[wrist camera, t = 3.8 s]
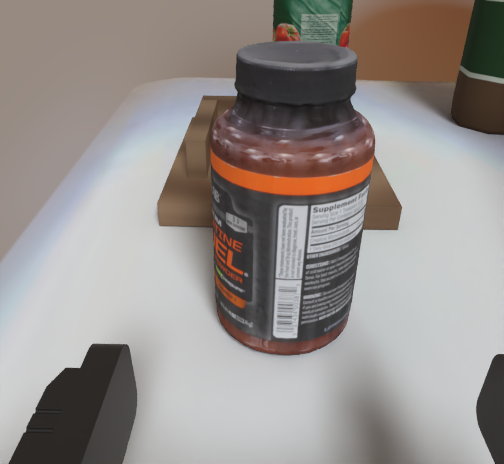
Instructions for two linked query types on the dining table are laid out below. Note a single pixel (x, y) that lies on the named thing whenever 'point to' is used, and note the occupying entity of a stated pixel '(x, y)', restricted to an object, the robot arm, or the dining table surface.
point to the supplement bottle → (289, 196)
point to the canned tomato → (312, 21)
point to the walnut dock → (200, 188)
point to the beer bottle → (482, 71)
